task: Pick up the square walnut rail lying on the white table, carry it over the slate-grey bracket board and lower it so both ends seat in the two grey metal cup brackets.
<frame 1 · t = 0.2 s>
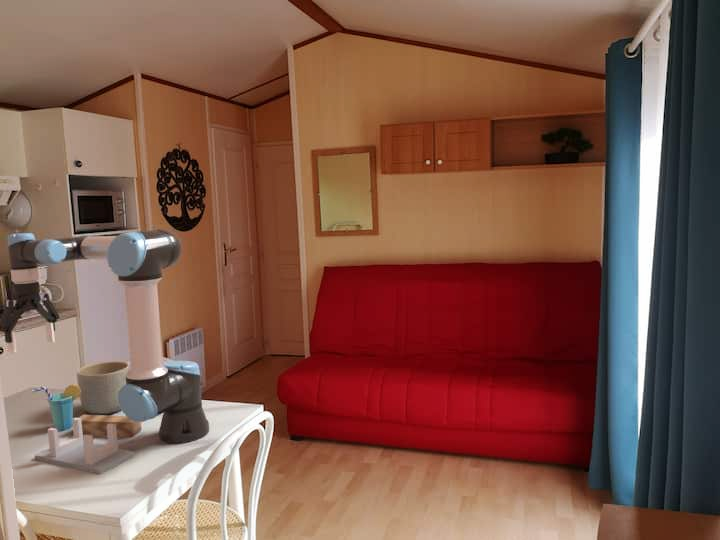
hand: (32, 346, 188), 27 cm above the table, fingers open, 13 cm apart
rail: (108, 433, 186), on the table
cup: (60, 429, 191), on the table
planter: (106, 410, 207), on the table
bracket board: (84, 457, 169), on the table
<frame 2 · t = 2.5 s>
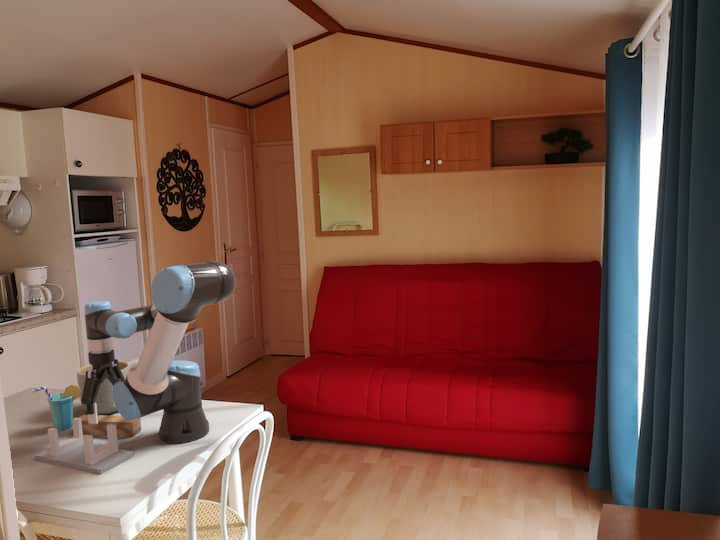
hand: (106, 414, 186), 6 cm above the table, fingers open, 13 cm apart
nothing on the table moved.
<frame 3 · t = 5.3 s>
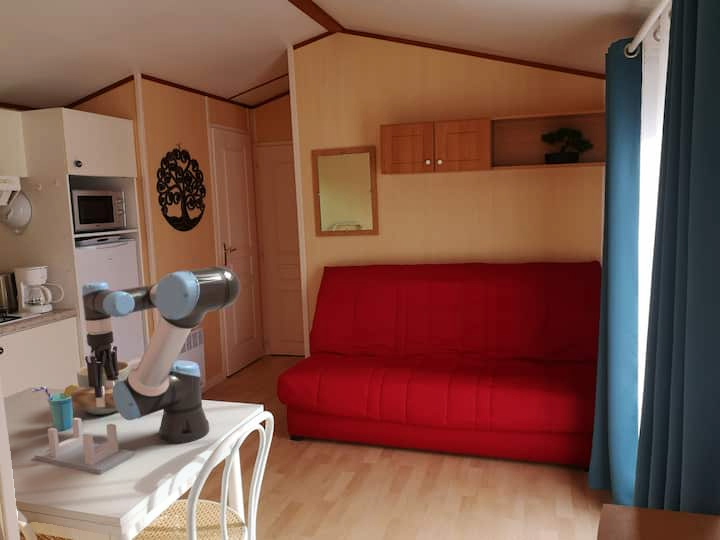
hand: (106, 403, 185), 10 cm above the table, fingers closed on rail, 5 cm apart
rail: (105, 405, 185), point 9 cm above the table, touching gripper
everything else where it was.
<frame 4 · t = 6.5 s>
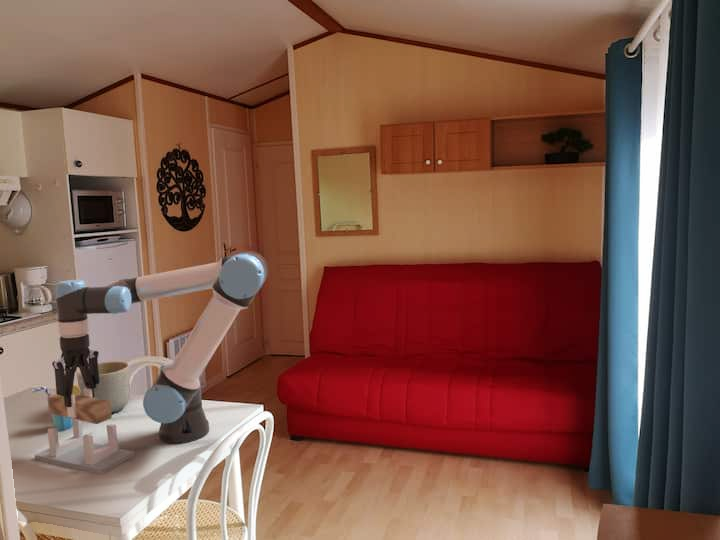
hand: (80, 413, 168), 13 cm above the table, fingers closed on rail, 5 cm apart
rail: (79, 415, 168), point 12 cm above the table, touching gripper
everything else where it was.
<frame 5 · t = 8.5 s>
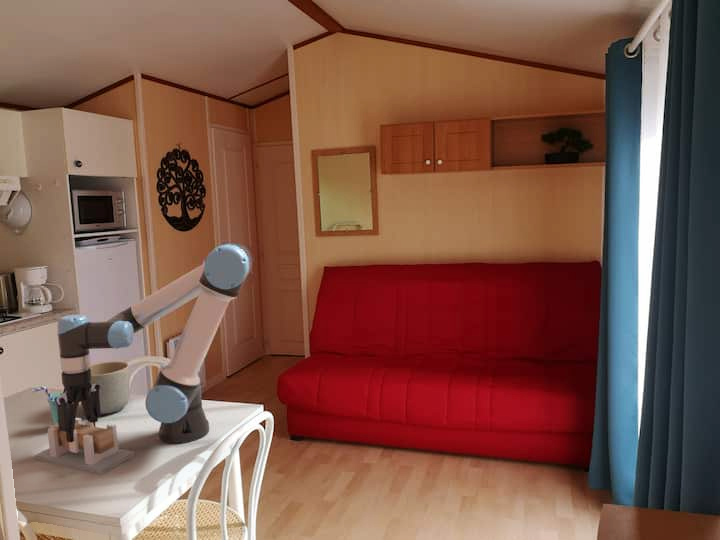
hand: (82, 447, 168), 3 cm above the table, fingers closed on rail, 5 cm apart
rail: (81, 445, 168), point 4 cm above the table, touching bracket board, gripper
everything else where it was.
when the fingers open (3 cm above the table, at t = 9.1 s): rail stays where it is, resting on bracket board.
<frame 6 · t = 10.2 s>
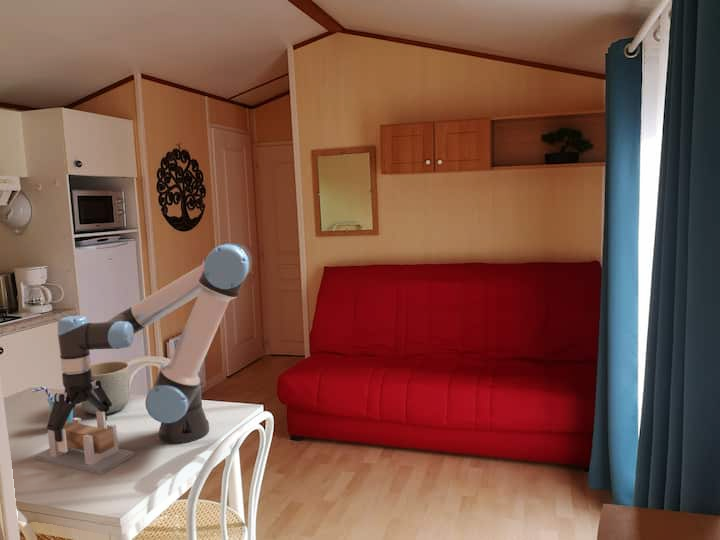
hand: (83, 441, 168), 5 cm above the table, fingers open, 13 cm apart
rail: (81, 445, 168), point 4 cm above the table, touching bracket board
everything else where it was.
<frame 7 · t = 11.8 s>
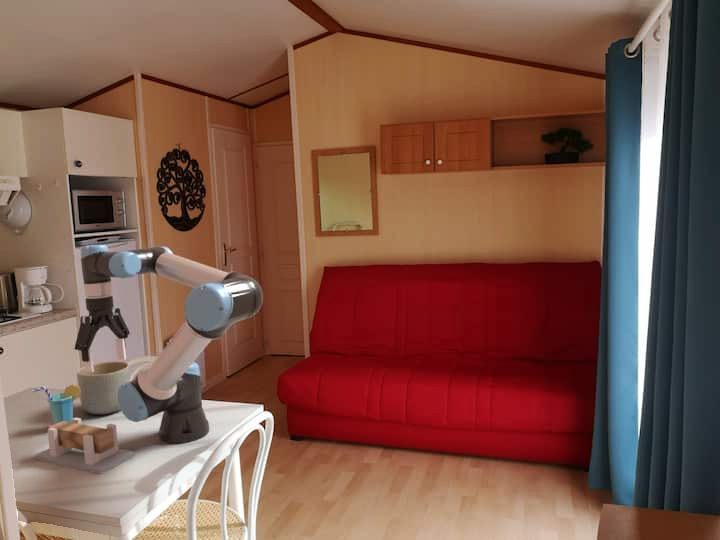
hand: (106, 365, 177), 24 cm above the table, fingers open, 13 cm apart
nothing on the table moved.
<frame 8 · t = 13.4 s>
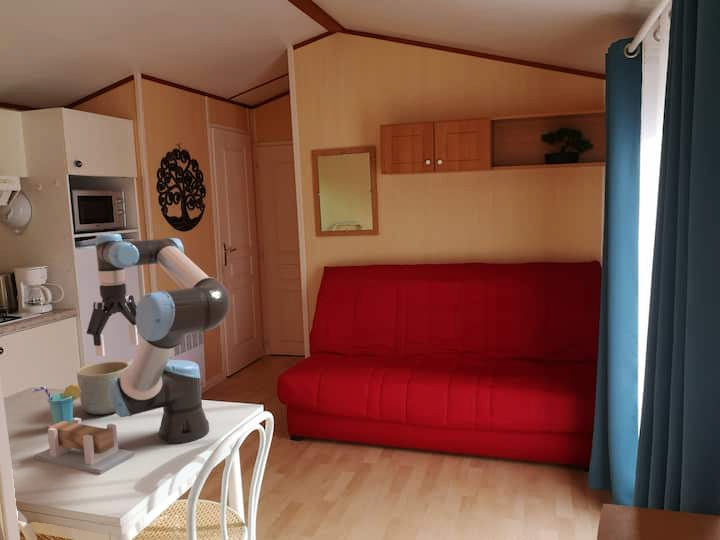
hand: (118, 349, 184), 27 cm above the table, fingers open, 13 cm apart
nothing on the table moved.
at the end: rail 0.6 cm off-centre on the bracket board, point 3.7 cm above the bracket board's base; the gripper is holding nothing; rail touching bracket board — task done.
